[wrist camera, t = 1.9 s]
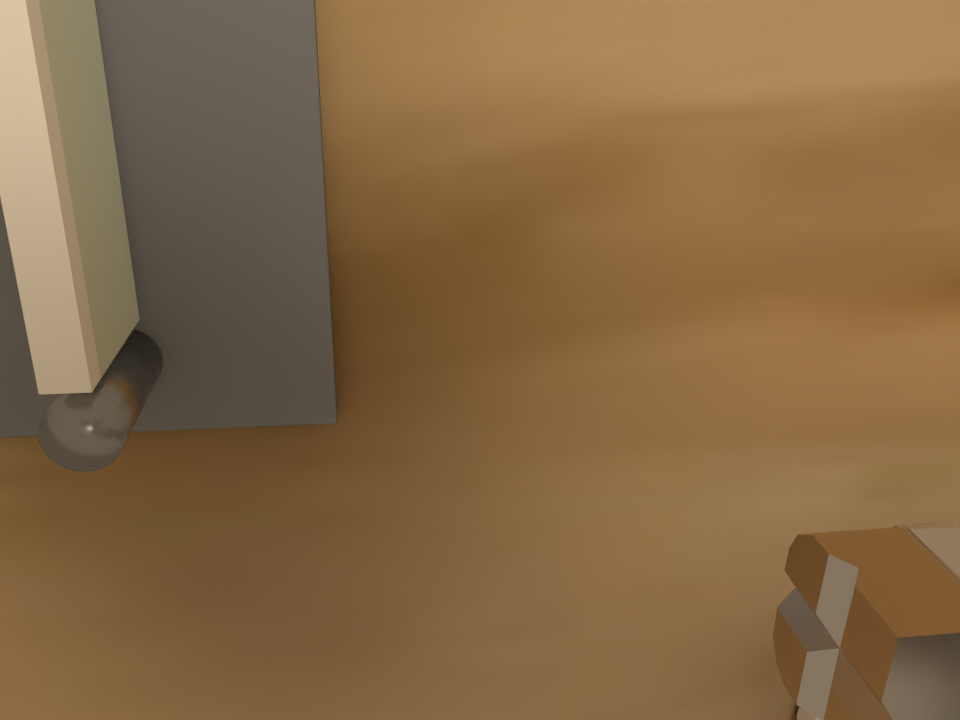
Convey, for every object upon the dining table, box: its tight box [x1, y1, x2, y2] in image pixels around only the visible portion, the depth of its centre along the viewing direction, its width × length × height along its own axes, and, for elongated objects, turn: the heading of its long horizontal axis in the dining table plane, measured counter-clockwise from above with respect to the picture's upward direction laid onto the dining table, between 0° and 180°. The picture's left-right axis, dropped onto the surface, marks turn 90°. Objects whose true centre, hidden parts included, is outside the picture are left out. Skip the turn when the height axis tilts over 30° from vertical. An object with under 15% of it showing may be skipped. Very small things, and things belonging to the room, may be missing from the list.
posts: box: [38, 329, 163, 472], centre depth 21 cm, size 16×2×8 cm, turn 179°
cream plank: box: [0, 0, 140, 394], centre depth 22 cm, size 11×1×5 cm, turn 179°
